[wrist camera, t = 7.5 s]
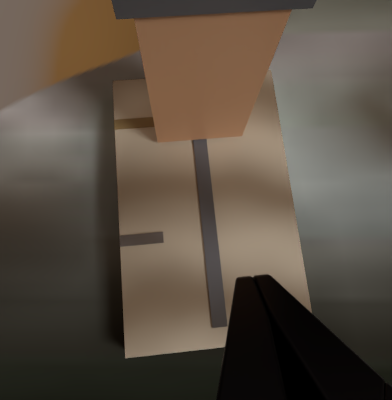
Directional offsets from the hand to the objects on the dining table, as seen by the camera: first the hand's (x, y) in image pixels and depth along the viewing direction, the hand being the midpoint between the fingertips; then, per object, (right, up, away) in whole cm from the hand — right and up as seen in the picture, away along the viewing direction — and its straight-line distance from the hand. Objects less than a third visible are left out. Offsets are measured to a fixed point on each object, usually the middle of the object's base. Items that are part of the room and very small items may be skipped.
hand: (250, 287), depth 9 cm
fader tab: (-1, +7, +12) cm, 14 cm away
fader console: (-1, +2, +12) cm, 13 cm away
